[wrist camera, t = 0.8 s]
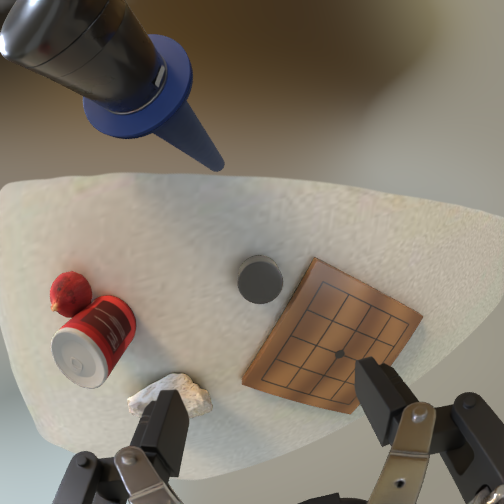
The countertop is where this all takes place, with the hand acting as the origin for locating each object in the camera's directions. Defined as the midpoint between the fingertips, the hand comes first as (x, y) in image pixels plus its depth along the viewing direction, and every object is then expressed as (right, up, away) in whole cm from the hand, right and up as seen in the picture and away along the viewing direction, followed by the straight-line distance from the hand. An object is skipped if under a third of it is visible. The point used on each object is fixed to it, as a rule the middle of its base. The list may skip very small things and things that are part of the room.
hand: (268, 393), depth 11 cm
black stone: (0, +3, +22) cm, 23 cm away
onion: (-24, +2, +22) cm, 32 cm away
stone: (-13, -15, +26) cm, 33 cm away
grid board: (+11, -7, +25) cm, 29 cm away
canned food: (-20, -3, +23) cm, 31 cm away
